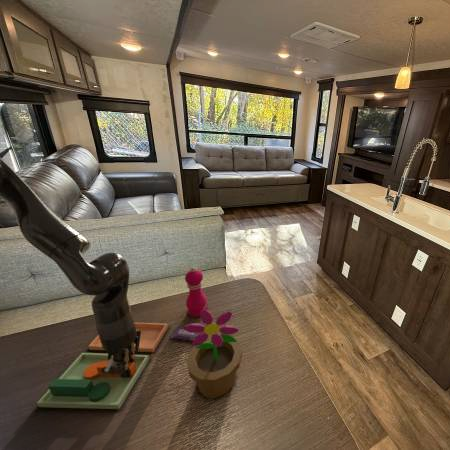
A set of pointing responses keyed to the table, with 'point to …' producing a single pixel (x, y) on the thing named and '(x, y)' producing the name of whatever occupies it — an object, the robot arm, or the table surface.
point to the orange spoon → (95, 372)
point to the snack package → (184, 334)
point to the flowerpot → (214, 355)
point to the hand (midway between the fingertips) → (129, 372)
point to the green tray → (76, 370)
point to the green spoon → (79, 389)
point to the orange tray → (141, 337)
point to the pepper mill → (195, 293)
